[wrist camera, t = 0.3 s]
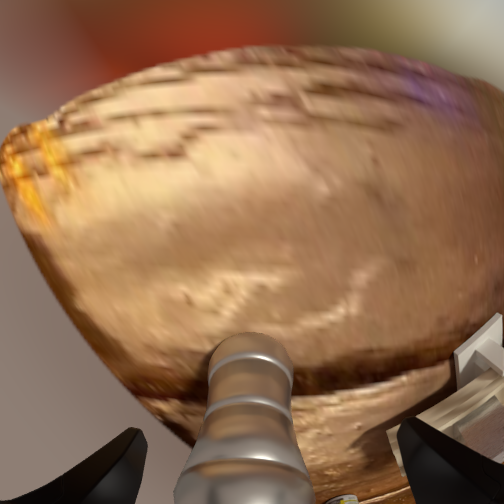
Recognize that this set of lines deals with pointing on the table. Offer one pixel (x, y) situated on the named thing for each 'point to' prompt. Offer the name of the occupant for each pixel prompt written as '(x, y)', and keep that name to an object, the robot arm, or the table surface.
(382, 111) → the table surface
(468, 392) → the balance beam
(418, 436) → the robot arm
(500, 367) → the beam stand
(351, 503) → the supplement bottle
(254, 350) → the silver metal bottle
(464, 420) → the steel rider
